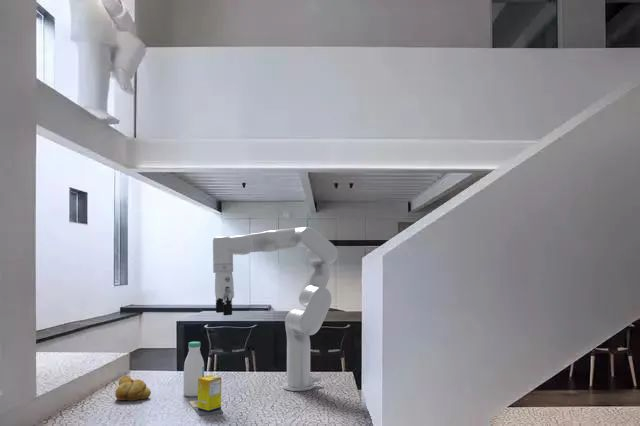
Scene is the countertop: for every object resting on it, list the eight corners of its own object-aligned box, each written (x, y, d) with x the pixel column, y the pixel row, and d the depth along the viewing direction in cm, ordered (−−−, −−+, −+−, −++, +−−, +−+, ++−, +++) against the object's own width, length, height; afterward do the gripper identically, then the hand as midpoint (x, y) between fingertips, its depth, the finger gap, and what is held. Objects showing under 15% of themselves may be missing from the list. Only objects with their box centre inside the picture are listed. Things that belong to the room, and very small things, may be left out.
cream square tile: (210, 400, 205) (210, 398, 205) (215, 405, 197) (215, 404, 197) (189, 402, 201) (189, 401, 201) (193, 408, 194) (193, 406, 194)
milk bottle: (198, 397, 208) (199, 344, 210) (179, 396, 210) (180, 343, 211) (207, 392, 216) (207, 341, 217) (188, 391, 217) (189, 340, 219)
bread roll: (154, 396, 211) (154, 375, 211) (143, 403, 201) (144, 380, 202) (122, 395, 212) (122, 374, 213) (110, 402, 202) (110, 380, 203)
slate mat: (217, 406, 196) (217, 405, 196) (222, 412, 189) (222, 411, 189) (194, 409, 193) (194, 407, 193) (199, 415, 185) (199, 413, 185)
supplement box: (210, 406, 195) (210, 374, 196) (221, 409, 191) (222, 377, 192) (196, 409, 190) (197, 377, 191) (208, 413, 186) (208, 380, 187)
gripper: (239, 268, 204) (240, 315, 203) (225, 267, 219) (226, 310, 219) (220, 269, 201) (220, 317, 200) (207, 268, 216) (208, 312, 215)
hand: (223, 313), depth 209 cm, fingers open, 9 cm apart
